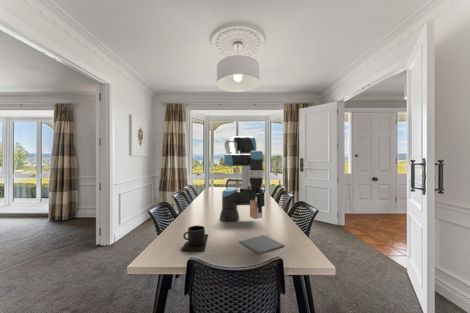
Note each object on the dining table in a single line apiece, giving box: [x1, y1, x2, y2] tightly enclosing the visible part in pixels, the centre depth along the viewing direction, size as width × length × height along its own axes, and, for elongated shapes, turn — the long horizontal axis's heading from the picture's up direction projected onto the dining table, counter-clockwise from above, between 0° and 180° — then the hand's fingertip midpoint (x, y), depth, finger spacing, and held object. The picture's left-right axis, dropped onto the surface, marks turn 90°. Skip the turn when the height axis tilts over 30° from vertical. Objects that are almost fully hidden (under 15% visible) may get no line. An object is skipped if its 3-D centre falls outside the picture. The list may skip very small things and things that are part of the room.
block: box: [249, 198, 263, 220], centre depth 132 cm, size 5×5×10 cm
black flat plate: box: [180, 233, 209, 253], centre depth 131 cm, size 25×1×15 cm
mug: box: [183, 225, 206, 247], centre depth 129 cm, size 9×12×9 cm
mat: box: [239, 234, 285, 255], centre depth 128 cm, size 18×18×1 cm
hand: (255, 216), depth 132 cm, fingers closed on block, 5 cm apart
